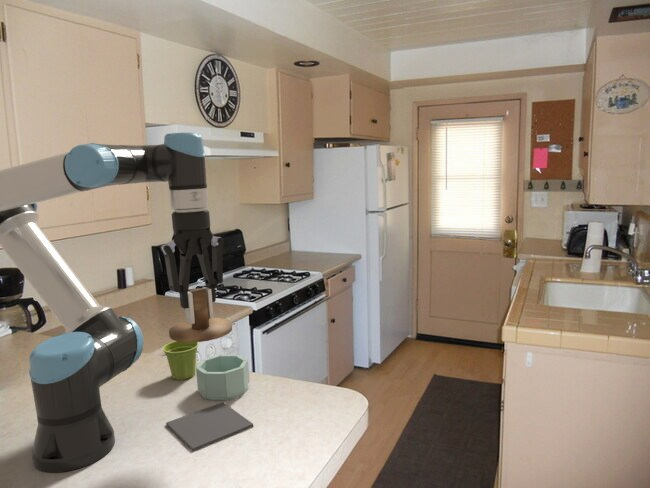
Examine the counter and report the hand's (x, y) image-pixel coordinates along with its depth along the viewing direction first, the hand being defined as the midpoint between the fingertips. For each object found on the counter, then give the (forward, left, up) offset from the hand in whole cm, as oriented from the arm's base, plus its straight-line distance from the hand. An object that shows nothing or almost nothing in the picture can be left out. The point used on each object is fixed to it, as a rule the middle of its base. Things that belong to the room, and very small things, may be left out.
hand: (199, 319), depth 108 cm
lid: (0, 0, -3) cm, 3 cm away
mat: (0, 0, -24) cm, 24 cm away
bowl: (+11, +14, -24) cm, 30 cm away
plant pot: (+7, +30, -24) cm, 39 cm away
